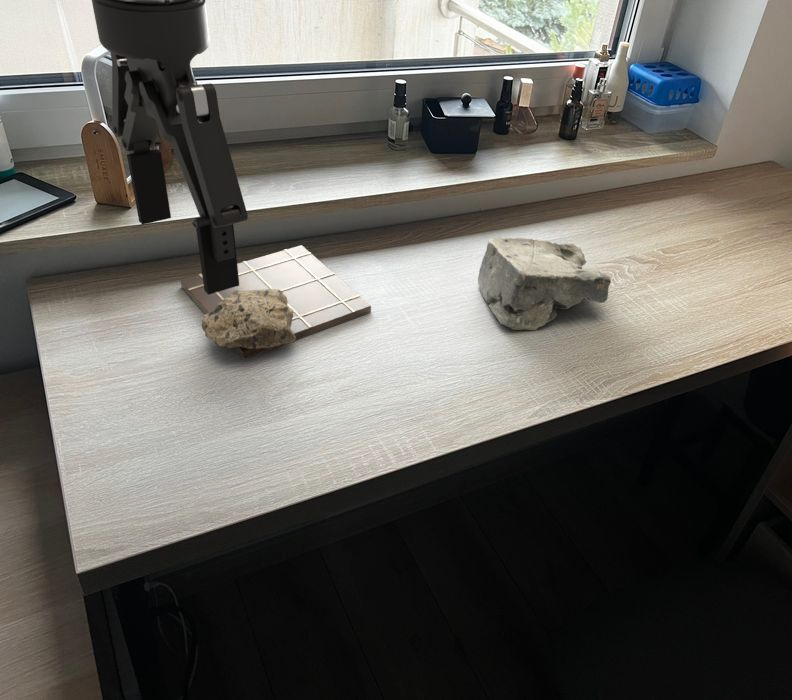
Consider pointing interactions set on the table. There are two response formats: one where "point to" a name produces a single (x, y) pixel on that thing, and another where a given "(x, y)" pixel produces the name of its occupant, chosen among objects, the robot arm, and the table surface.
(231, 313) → the rock
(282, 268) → the grid board
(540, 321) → the grey broken concrete chunk
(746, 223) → the table surface
